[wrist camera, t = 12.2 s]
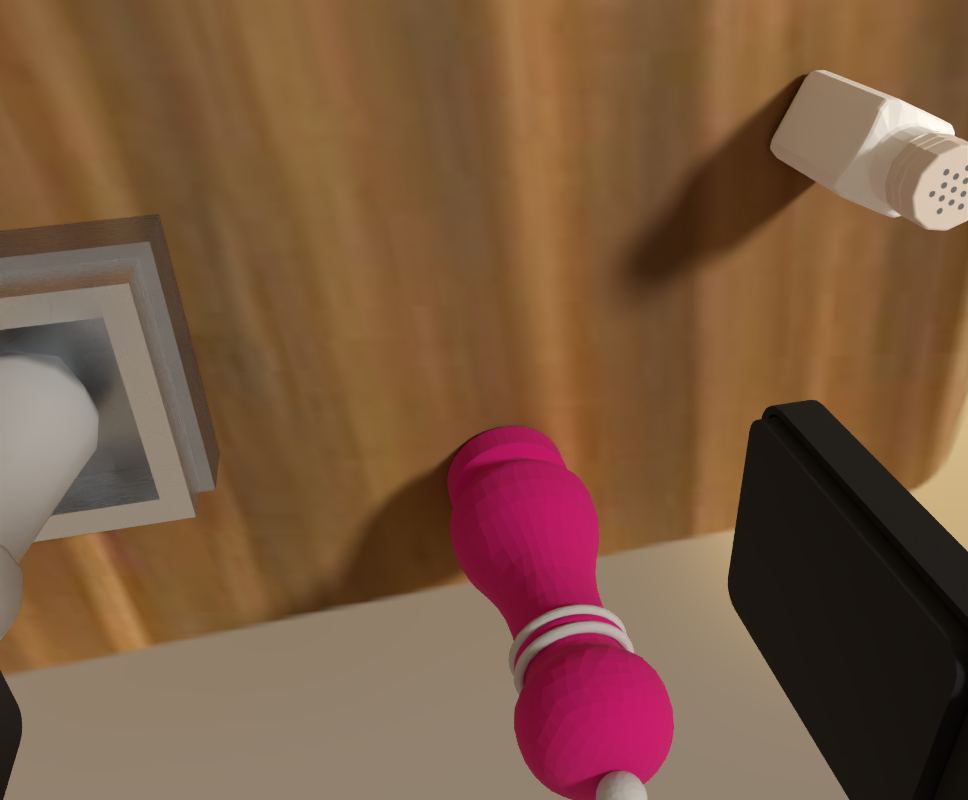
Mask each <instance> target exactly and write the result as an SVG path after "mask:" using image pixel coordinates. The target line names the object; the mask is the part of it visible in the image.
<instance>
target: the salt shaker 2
mask: <svg viewBox="0 0 968 800" xmlns="http://www.w3.org/2000/svg"><path fill="white" fill-rule="evenodd" d="M954 133H955V132H954V130H953V127H952V125H951V124H949V123H947V122H945V121H944V120H942V119H940V118H938V117H935V116H933V115H931V114H929V113H927V112H925V111H923V110H921V109H919V108H917V107H915V106H913V105H910V104H908V103H906V102H904V101H902V100H900V99H898V98H895V97H892V96H890V95H887V94H885V93H882V92H880V91H877V90H875V89H872V88H869V87H867V86H864V85H862V84H859V83H857V82H854V81H852V80H849V79H846V78H844V77H841V76H839V75H836V74H834V73H831V72H829V71H826V70H818V71H812V72H811V73H810V74H809V75H808V76H807V77H806V78H805V79H804V81H803V83H802V85H801V87H800V89H799V90H798V92H797V94H796V96H795V98H794V100H793V101H792V103H791V105H790V107H789V109H788V111H787V112H786V114H785V116H784V118H783V120H782V122H781V123H780V125H779V127H778V129H777V131H776V133H775V134H774V136H773V138H772V141H771V145H770V149H771V151H772V153H773V154H774V155H775V156H776V158H778V159H779V160H781V161H783V162H784V163H786V164H788V165H789V166H791V167H793V168H794V169H796V170H798V171H799V172H801V173H803V174H804V175H806V176H807V177H809V178H811V179H812V180H814V181H816V182H817V183H819V184H821V185H822V186H824V187H826V188H827V189H829V190H831V191H832V192H834V193H835V194H837V195H839V196H841V197H843V198H845V199H848V200H850V201H852V202H854V203H857V204H859V205H861V206H864V207H866V208H868V209H871V210H873V211H876V212H878V213H881V214H884V215H886V216H889V217H892V218H894V217H899V216H903V217H905V218H907V219H909V220H910V221H912V222H914V223H916V224H917V225H919V226H921V227H922V228H924V229H927V230H942V231H946V230H948V229H950V228H953V227H955V226H957V225H959V224H961V223H964V222H966V221H967V220H968V142H967V141H965V140H963V139H960V138H958V137H955V136H954Z"/></svg>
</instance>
